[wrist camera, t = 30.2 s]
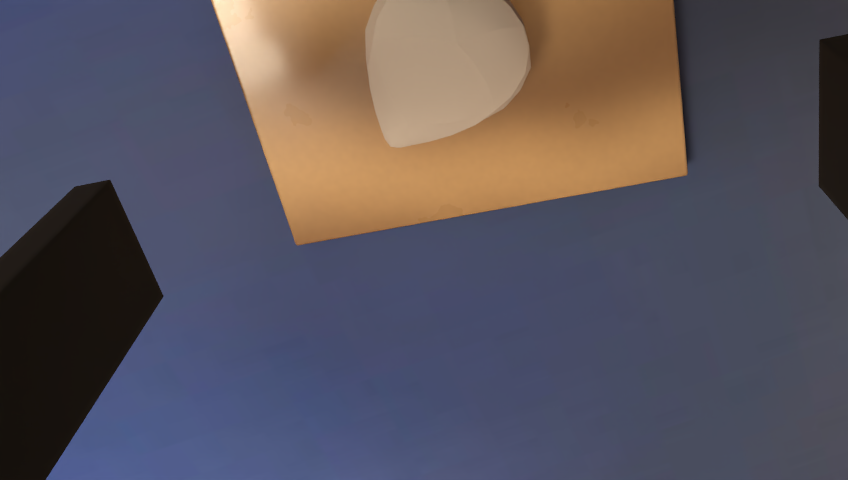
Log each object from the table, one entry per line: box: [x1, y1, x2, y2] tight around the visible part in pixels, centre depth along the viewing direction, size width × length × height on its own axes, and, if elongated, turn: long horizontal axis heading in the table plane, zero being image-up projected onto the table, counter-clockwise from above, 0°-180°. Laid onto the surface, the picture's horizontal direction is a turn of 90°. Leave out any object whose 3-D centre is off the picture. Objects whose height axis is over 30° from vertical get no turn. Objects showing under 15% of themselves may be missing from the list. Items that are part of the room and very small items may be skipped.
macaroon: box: [365, 0, 531, 148], centre depth 21 cm, size 4×5×2 cm
